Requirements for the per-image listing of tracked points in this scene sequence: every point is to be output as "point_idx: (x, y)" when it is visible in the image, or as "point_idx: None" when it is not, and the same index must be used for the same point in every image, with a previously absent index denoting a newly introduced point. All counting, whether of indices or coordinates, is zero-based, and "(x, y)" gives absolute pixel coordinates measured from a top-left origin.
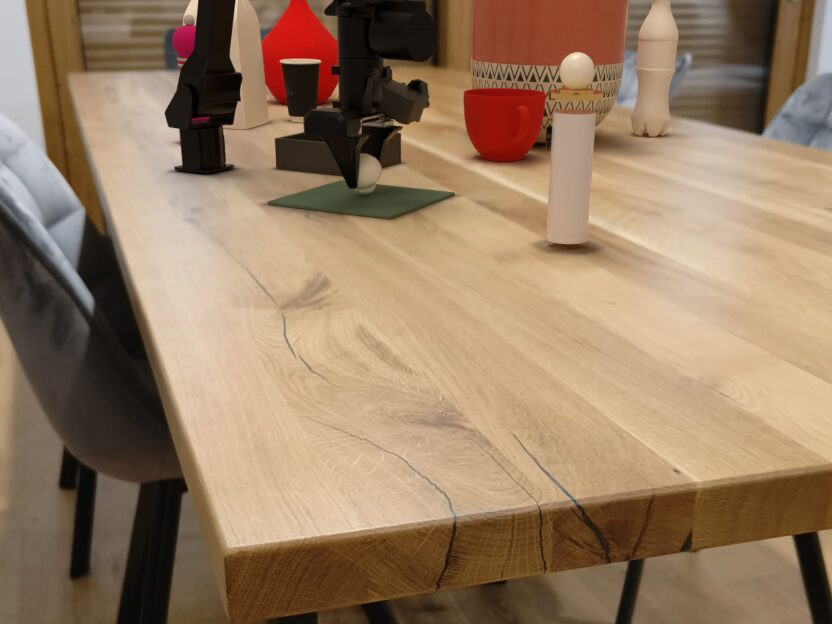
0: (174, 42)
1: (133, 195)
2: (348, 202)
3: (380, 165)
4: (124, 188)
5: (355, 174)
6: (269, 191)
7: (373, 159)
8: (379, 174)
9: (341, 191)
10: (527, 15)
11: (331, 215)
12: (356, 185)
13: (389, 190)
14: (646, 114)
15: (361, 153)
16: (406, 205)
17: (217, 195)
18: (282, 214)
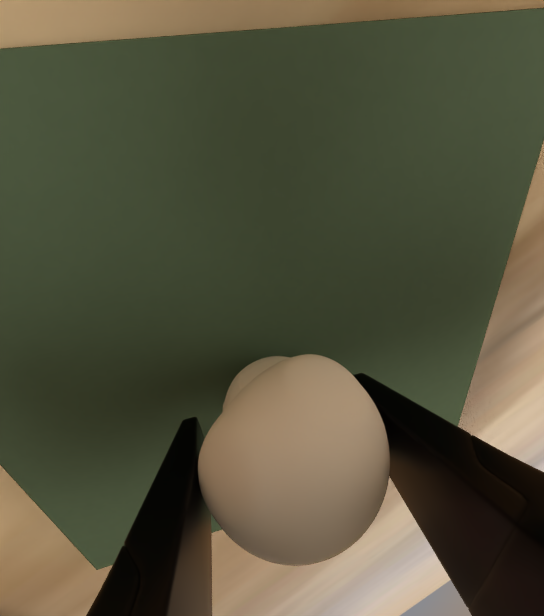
0: None
1: (441, 571)
2: (382, 336)
3: (250, 438)
4: (402, 603)
5: (416, 403)
6: None
7: (314, 477)
8: (286, 378)
9: None
10: None
11: (525, 267)
12: (363, 378)
13: (87, 396)
14: None
15: (210, 603)
16: (328, 100)
17: (394, 541)
18: (533, 362)
